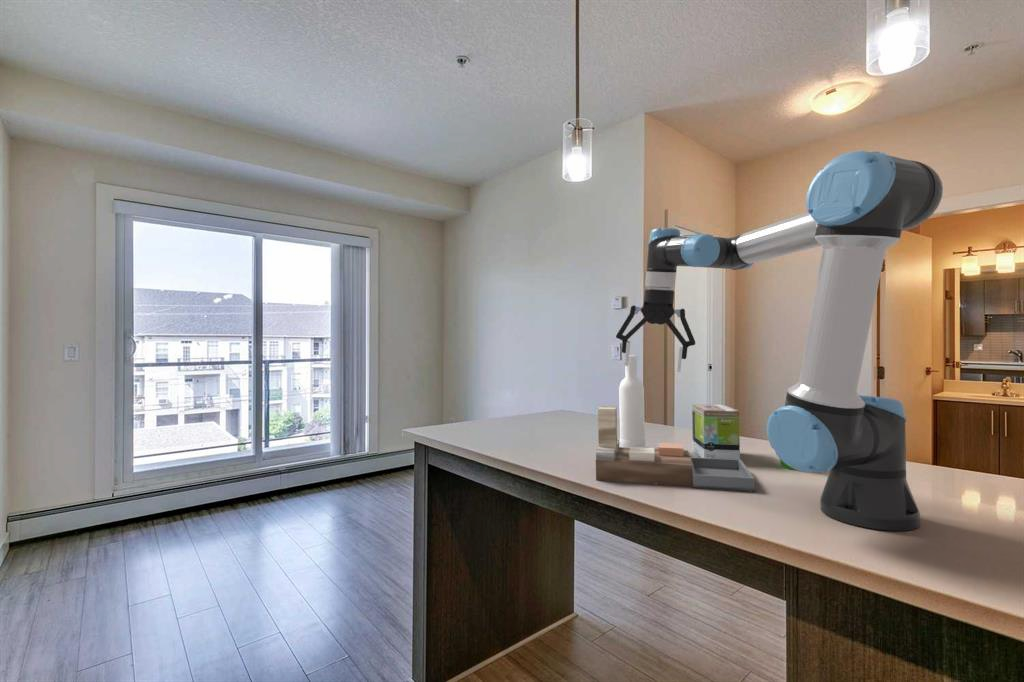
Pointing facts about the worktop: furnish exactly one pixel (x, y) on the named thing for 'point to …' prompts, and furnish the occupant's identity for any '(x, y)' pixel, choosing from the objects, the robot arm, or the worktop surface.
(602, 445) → the two-tone beige block
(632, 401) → the bottle
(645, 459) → the cream tile
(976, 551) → the worktop surface
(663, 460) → the board
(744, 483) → the tray
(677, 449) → the terracotta tile
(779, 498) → the worktop surface
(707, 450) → the tea box
